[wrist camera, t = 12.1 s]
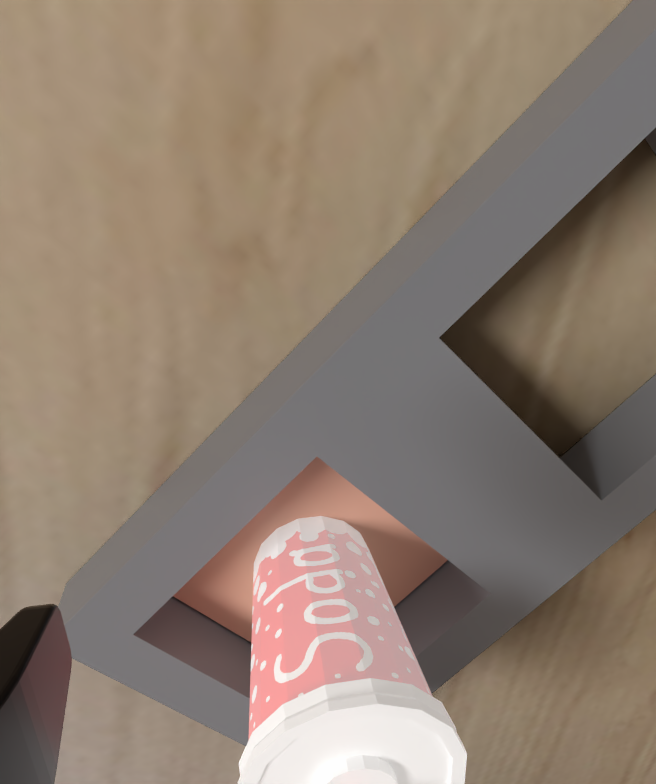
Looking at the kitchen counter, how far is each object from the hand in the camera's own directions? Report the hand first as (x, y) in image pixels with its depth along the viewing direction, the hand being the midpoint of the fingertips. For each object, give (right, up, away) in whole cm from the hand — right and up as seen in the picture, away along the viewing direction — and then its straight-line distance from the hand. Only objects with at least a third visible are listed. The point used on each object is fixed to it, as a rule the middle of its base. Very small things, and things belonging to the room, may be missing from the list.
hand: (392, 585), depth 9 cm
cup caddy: (+3, +1, +14) cm, 15 cm away
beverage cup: (-2, -4, +16) cm, 16 cm away
